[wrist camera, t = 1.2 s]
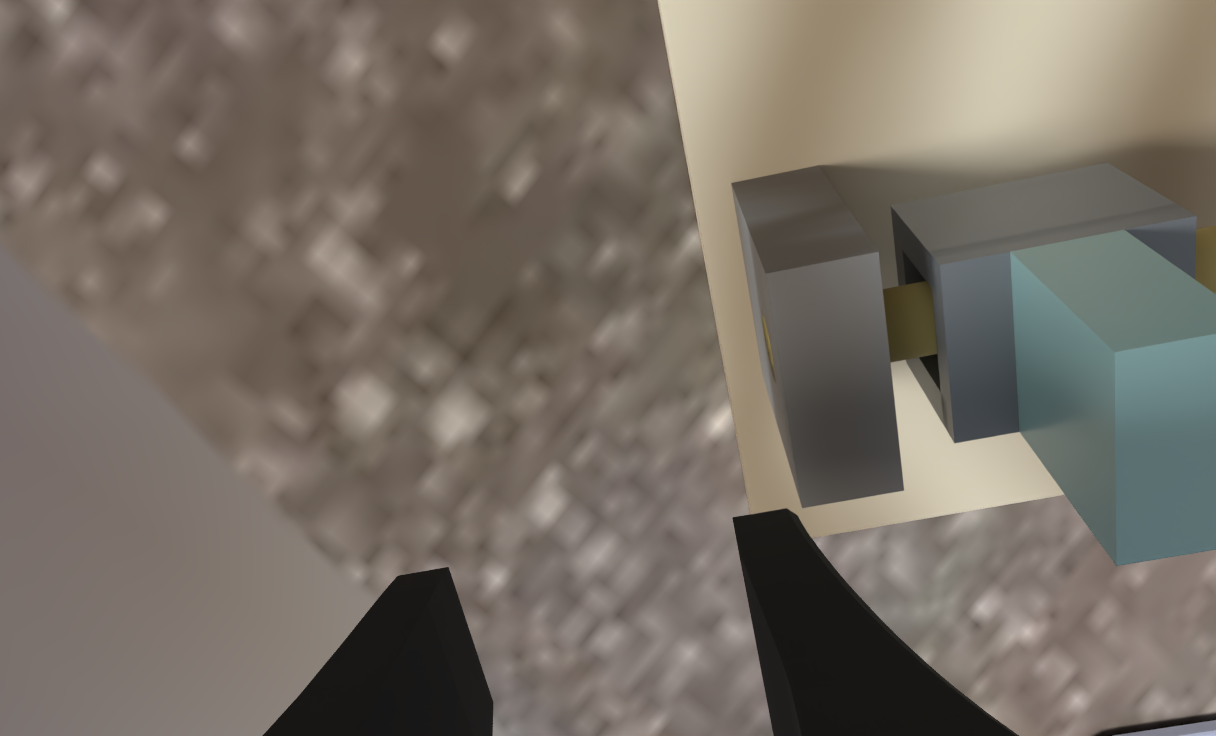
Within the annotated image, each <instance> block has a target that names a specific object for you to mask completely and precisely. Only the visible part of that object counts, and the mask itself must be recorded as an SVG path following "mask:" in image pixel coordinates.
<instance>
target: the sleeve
mask: <svg viewBox="0 0 1216 736" xmlns="http://www.w3.org/2000/svg"><path fill="white" fill-rule="evenodd" d="M890 206H891V216H892V226H893V236H894V246H895V255H896V265H897V275H898V285H899V286H902V285H907V284H912V283H918V282H923V281H927V283H928V284H929V285H930V287H931V288H932V296H933V308H934V319H935V331H936V343H937V354H934V355H929V356H923V357H918V358H912V359H907V360H906V363H907V365H908V366H909V368H910V370H911V371H912V373H913V375H914V376H915V378H916V380H917V381H918V383H919V385H920V386H921V388H922V390H923V391H924V393H925V395H926V396H927V398H928V400H929V402H930V403H931V405H932V407H933V408H934V410H935V412H936V413H937V415H938V417H939V418H940V420H941V422H942V423H943V425H944V427H945V428H946V430H947V432H948V433H949V435H950V437H951V438H952V440H953V442H954V443H960V442H966V441H971V440H977V439H982V438H988V437H994V436H999V435H1005V434H1011V433H1016V432H1020V433H1021V435H1022V436H1023V437H1024V439H1025V440H1026V442H1027V443H1028V444H1029V446H1030V447H1031V448H1032V450H1033V451H1034V453H1035V454H1036V455H1037V457H1038V458H1039V460H1040V461H1041V462H1042V464H1043V465H1044V466H1045V468H1046V469H1047V471H1048V472H1049V473H1050V475H1051V476H1052V478H1053V479H1054V480H1055V482H1056V483H1057V484H1058V486H1059V487H1060V489H1061V490H1062V491H1063V493H1064V494H1065V495H1066V497H1067V498H1068V500H1069V501H1070V502H1071V504H1072V505H1073V507H1074V508H1075V509H1076V511H1077V512H1078V513H1079V515H1080V516H1081V518H1082V519H1083V520H1084V522H1085V523H1086V525H1087V526H1088V527H1089V529H1090V530H1091V531H1092V533H1093V534H1094V536H1095V537H1096V538H1097V540H1098V541H1099V542H1100V544H1101V545H1102V547H1103V548H1104V549H1105V551H1106V552H1107V554H1108V555H1109V556H1110V558H1111V559H1112V560H1113V562H1114V563H1115V565H1116V566H1119V565H1125V564H1131V563H1137V562H1143V561H1149V560H1156V559H1162V558H1168V557H1174V556H1180V555H1186V554H1192V553H1198V552H1204V551H1210V550H1216V294H1215V293H1213V292H1212V291H1210V290H1209V289H1208V288H1206V287H1205V286H1203V285H1202V284H1200V283H1199V282H1198V281H1196V280H1195V263H1196V223H1197V216H1196V215H1195V214H1193V213H1191V212H1189V211H1188V210H1186V209H1184V208H1183V207H1181V206H1179V205H1178V204H1176V203H1174V202H1173V201H1171V200H1169V199H1168V198H1166V197H1164V196H1163V195H1161V194H1159V193H1158V192H1156V191H1154V190H1153V189H1151V188H1149V187H1147V186H1146V185H1144V184H1142V183H1141V182H1139V181H1137V180H1136V179H1134V178H1132V177H1131V176H1129V175H1127V174H1126V173H1124V172H1122V171H1121V170H1119V169H1117V168H1116V167H1114V166H1112V165H1110V164H1109V163H1102V164H1097V165H1092V166H1087V167H1082V168H1077V169H1072V170H1067V171H1062V172H1057V173H1052V174H1047V175H1041V176H1036V177H1031V178H1026V179H1021V180H1016V181H1011V182H1006V183H1001V184H996V185H991V186H986V187H981V188H976V189H971V190H966V191H961V192H956V193H951V194H946V195H941V196H935V197H930V198H925V199H920V200H915V201H910V202H905V203H900V204H895V205H890Z"/></svg>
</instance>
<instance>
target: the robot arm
mask: <svg viewBox="0 0 1216 736" xmlns="http://www.w3.org/2000/svg"><path fill="white" fill-rule="evenodd" d="M733 523H734V528H735V534H736V539H737V544H738V550H739V555H740V560H741V566H742V571H743V576H744V582H745V587H746V592H747V597H748V603H749V608H750V613H751V618H752V624H753V629H754V634H755V639H756V645H757V650H758V655H759V661H760V666H761V671H762V676H763V682H764V687H765V692H766V697H767V703H768V708H769V713H770V719H771V724H772V729H773V734H774V736H1019V735H1017V734H1016V733H1014V732H1013V731H1012V730H1010V729H1009V728H1007V727H1006V726H1005V725H1003V724H1002V723H1000V722H999V721H998V720H996V719H995V718H994V717H992V716H991V715H989V714H988V713H987V712H986V711H984V710H983V709H982V708H980V707H979V706H978V705H977V704H975V703H974V702H973V701H971V700H970V699H969V698H968V697H966V696H965V695H964V694H962V693H961V692H960V691H959V690H957V689H956V688H955V687H954V686H953V685H951V684H950V683H949V682H948V681H947V680H945V679H944V678H943V677H942V676H941V675H940V674H938V673H937V672H936V671H935V670H934V669H933V668H932V667H930V666H929V665H928V664H927V663H926V662H925V661H924V660H923V659H921V658H920V657H919V656H918V655H917V654H916V653H915V652H914V651H913V650H912V649H911V648H910V647H909V646H907V645H906V644H905V643H904V642H903V641H902V640H901V639H900V638H899V637H898V636H897V635H896V634H895V633H894V632H893V631H892V630H891V629H890V628H889V627H888V626H887V625H886V624H885V623H884V622H883V621H882V620H881V619H880V618H879V617H878V616H877V615H876V614H875V613H874V612H873V611H872V610H871V609H870V607H869V606H868V605H867V604H866V603H865V602H864V601H863V600H862V599H861V598H860V597H859V596H858V595H857V593H856V592H855V591H854V590H853V589H852V588H851V587H850V586H849V585H848V584H847V582H846V581H845V580H844V579H843V578H842V577H841V575H840V574H839V573H838V572H837V571H836V569H835V568H834V567H833V566H832V564H831V563H830V562H829V561H828V559H827V558H826V557H825V556H824V554H823V553H822V552H821V550H820V549H819V548H818V546H817V545H816V544H815V542H814V541H813V539H812V538H811V537H810V535H809V534H808V532H807V531H806V529H805V527H804V526H803V524H802V523H801V521H800V519H799V517H798V515H796V514H795V513H793V512H792V511H790V510H789V509H787V508H785V509H779V510H773V511H767V512H762V513H756V514H750V515H744V516H739V517H733ZM492 731H493V700H492V697H491V694H490V691H489V688H488V685H487V682H486V679H485V676H484V673H483V670H482V667H481V664H480V661H479V658H478V655H477V652H476V649H475V646H474V643H473V640H472V637H471V634H470V631H469V628H468V625H467V622H466V619H465V616H464V613H463V610H462V607H461V604H460V601H459V598H458V595H457V592H456V589H455V585H454V582H453V579H452V576H451V573H450V570H449V567H446V568H440V569H434V570H429V571H423V572H417V573H412V574H406V575H400V576H397V577H396V578H395V580H394V581H393V582H392V583H391V584H390V585H389V586H388V588H387V589H386V590H385V591H384V592H383V593H382V595H381V596H380V597H379V598H378V600H377V601H376V602H375V603H374V605H373V606H372V607H371V608H370V610H369V611H368V612H367V613H366V614H365V616H364V617H363V618H362V619H361V621H360V622H359V623H358V625H357V626H356V627H355V628H354V630H353V631H352V632H351V633H350V635H349V636H348V637H347V638H346V639H345V641H344V642H343V643H342V644H341V646H340V647H339V648H338V649H337V651H336V652H335V653H334V654H333V655H332V657H331V658H330V659H329V660H328V661H327V663H326V664H325V665H324V666H323V667H322V669H321V670H320V671H319V672H318V673H317V675H316V676H315V677H314V678H313V680H312V681H311V682H310V683H309V684H308V686H307V687H306V688H305V689H304V690H303V692H302V693H301V694H300V695H299V696H298V697H297V699H296V700H295V701H294V702H293V703H292V704H291V705H290V706H289V707H288V708H287V710H286V711H285V712H284V713H283V714H282V715H281V716H280V717H279V718H278V720H277V721H276V722H275V723H274V724H273V725H272V726H271V727H270V728H269V729H268V731H267V732H266V733H265V734H264V735H263V736H492ZM1114 736H1216V720H1213V721H1207V722H1200V723H1193V724H1187V725H1180V726H1173V727H1167V728H1160V729H1154V730H1147V731H1140V732H1134V733H1127V734H1120V735H1114Z"/></svg>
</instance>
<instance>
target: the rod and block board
mask: <svg viewBox="0 0 1216 736" xmlns="http://www.w3.org/2000/svg"><path fill="white" fill-rule="evenodd" d="M658 5H659V11H660V17H661V22H662V28H663V33H664V39H665V44H666V50H667V55H668V61H669V66H670V72H671V77H672V83H673V88H674V94H675V99H676V105H677V111H678V116H679V122H680V127H681V133H682V138H683V144H684V149H685V155H686V160H687V166H688V171H689V177H690V182H691V188H692V193H693V199H694V205H695V210H696V216H697V221H698V227H699V232H700V238H701V243H702V249H703V254H704V260H705V265H706V271H707V276H708V282H709V287H710V293H711V299H712V304H713V310H714V315H715V321H716V326H717V332H718V337H719V343H720V348H721V354H722V359H723V365H724V370H725V376H726V381H727V387H728V393H729V398H730V404H731V409H732V415H733V420H734V426H735V431H736V437H737V442H738V448H739V453H740V459H741V464H742V470H743V475H744V481H745V487H746V492H747V498H748V503H749V509H750V514H756V513H762V512H767V511H773V510H779V509H785V508H787V509H789V510H790V511H792V512H793V513H795V514H796V515H798V517H799V519H800V521H801V523H802V524H803V526H804V527H805V529H806V531H807V532H808V534H809V535H810V537H811V538H814V537H820V536H826V535H832V534H838V533H843V532H849V531H855V530H861V529H867V528H873V527H878V526H884V525H890V524H896V523H902V522H908V521H913V520H919V519H925V518H931V517H937V516H943V515H949V514H954V513H960V512H966V511H972V510H978V509H984V508H989V507H995V506H1001V505H1007V504H1013V503H1019V502H1024V501H1030V500H1036V499H1042V498H1048V497H1054V496H1059V495H1065V494H1064V493H1063V491H1062V490H1061V489H1060V487H1059V486H1058V484H1057V483H1056V482H1055V480H1054V479H1053V478H1052V476H1051V475H1050V473H1049V472H1048V471H1047V469H1046V468H1045V466H1044V465H1043V464H1042V462H1041V461H1040V460H1039V458H1038V457H1037V455H1036V454H1035V453H1034V451H1033V450H1032V448H1031V447H1030V446H1029V444H1028V443H1027V442H1026V440H1025V439H1024V437H1023V436H1022V435H1021V433H1020V432H1016V433H1011V434H1005V435H999V436H994V437H988V438H982V439H977V440H971V441H966V442H960V443H954V442H953V440H952V438H951V437H950V435H949V433H948V432H947V430H946V428H945V427H944V425H943V423H942V422H941V420H940V418H939V417H938V415H937V413H936V412H935V410H934V408H933V407H932V405H931V403H930V402H929V400H928V398H927V396H926V395H925V393H924V391H923V390H922V388H921V386H920V385H919V383H918V381H917V380H916V378H915V376H914V375H913V373H912V371H911V370H910V368H909V366H908V365H907V363H906V360H907V359H912V358H918V357H923V356H929V355H934V354H937V343H936V331H935V319H934V308H933V296H932V288H931V287H930V285H929V284H928V283H927V281H923V282H918V283H912V284H907V285H902V286H899V285H898V275H897V265H896V255H895V246H894V236H893V226H892V216H891V206H890V205H895V204H900V203H905V202H910V201H915V200H920V199H925V198H930V197H935V196H941V195H946V194H951V193H956V192H961V191H966V190H971V189H976V188H981V187H986V186H991V185H996V184H1001V183H1006V182H1011V181H1016V180H1021V179H1026V178H1031V177H1036V176H1041V175H1047V174H1052V173H1057V172H1062V171H1067V170H1072V169H1077V168H1082V167H1087V166H1092V165H1097V164H1102V163H1109V164H1110V165H1112V166H1114V167H1116V168H1117V169H1119V170H1121V171H1122V172H1124V173H1126V174H1127V175H1129V176H1131V177H1132V178H1134V179H1136V180H1137V181H1139V182H1141V183H1142V184H1144V185H1146V186H1147V187H1149V188H1151V189H1153V190H1154V191H1156V192H1158V193H1159V194H1161V195H1163V196H1164V197H1166V198H1168V199H1169V200H1171V201H1173V202H1174V203H1176V204H1178V205H1179V206H1181V207H1183V208H1184V209H1186V210H1188V211H1189V212H1191V213H1193V214H1195V215H1196V216H1197V223H1196V263H1195V280H1196V281H1198V282H1199V283H1200V284H1202V285H1203V286H1205V287H1206V288H1208V289H1209V290H1210V291H1212V292H1213V293H1215V294H1216V0H658Z"/></svg>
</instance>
